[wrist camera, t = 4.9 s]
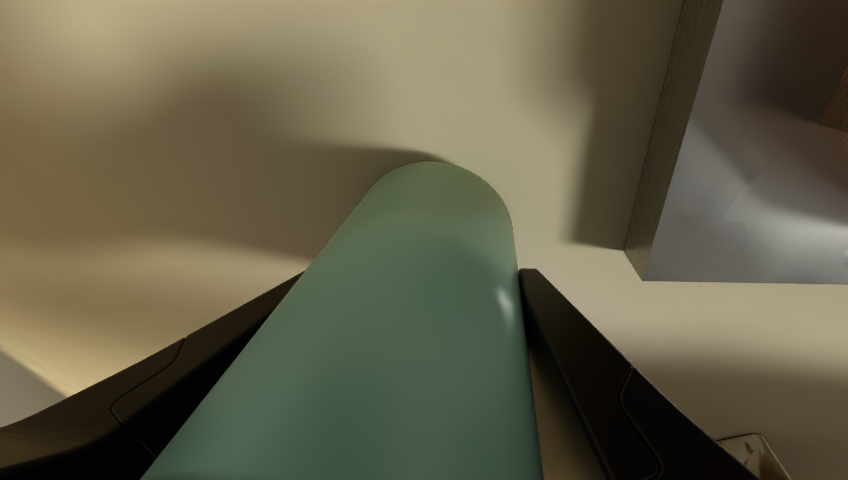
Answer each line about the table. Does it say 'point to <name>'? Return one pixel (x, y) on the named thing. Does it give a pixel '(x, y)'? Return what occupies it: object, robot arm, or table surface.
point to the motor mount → (749, 148)
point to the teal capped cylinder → (383, 353)
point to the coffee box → (756, 456)
